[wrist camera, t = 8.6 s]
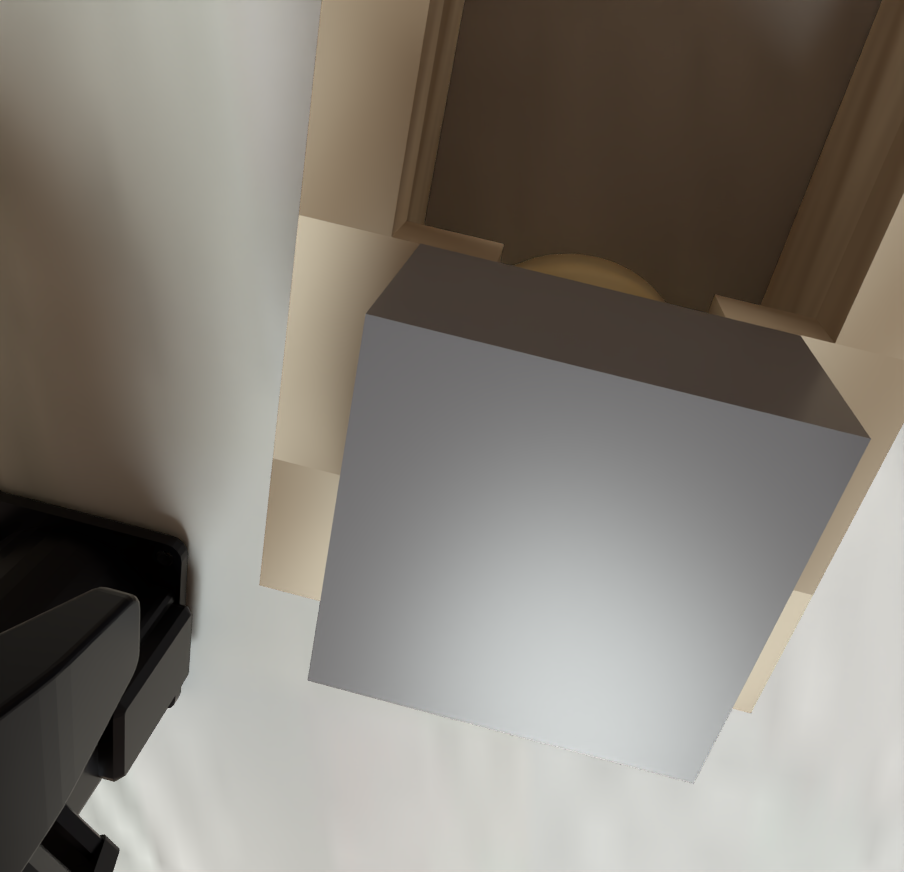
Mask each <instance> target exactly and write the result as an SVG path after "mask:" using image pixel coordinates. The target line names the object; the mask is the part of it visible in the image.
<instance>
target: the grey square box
mask: <svg viewBox="0 0 904 872" xmlns="http://www.w3.org/2000/svg"><path fill="white" fill-rule="evenodd" d="M870 440H871V438H870V437H869V435H868V434H867V432H866V431H865V429H864V428H863V426H862V425H861V423H860V422H859V420H858V419H857V417H856V416H855V415H854V413H853V412H852V410H851V409H850V407H849V406H848V404H847V403H846V401H845V400H844V398H843V397H842V396H841V394H840V393H839V391H838V390H837V388H836V387H835V385H834V384H833V382H832V381H831V379H830V378H829V377H828V375H827V374H826V372H825V371H824V369H823V368H822V366H821V365H820V363H819V362H818V360H817V359H816V357H815V356H814V355H813V353H812V352H811V350H810V349H809V347H808V346H807V344H806V343H805V341H804V340H803V338H802V337H801V336H800V335H796V334H792V333H787V332H783V331H779V330H775V329H771V328H767V327H763V326H759V325H755V324H750V323H746V322H742V321H738V320H734V319H730V318H726V317H722V316H718V315H713V314H709V313H705V312H701V311H697V310H693V309H689V308H685V307H681V306H676V305H672V304H668V303H666V302H665V300H664V299H663V298H662V297H661V296H660V294H659V293H658V292H657V291H656V290H655V289H654V288H653V287H652V286H651V285H650V284H649V283H647V282H646V281H645V280H644V279H643V278H642V277H640V276H639V275H637V274H636V273H634V272H632V271H631V270H629V269H628V268H626V267H623V266H621V265H619V264H617V263H615V262H612V261H609V260H606V259H603V258H600V257H596V256H590V255H584V254H570V253H562V254H551V255H545V256H540V257H536V258H532V259H529V260H526V261H523V262H520V263H518V264H516V265H514V266H512V265H508V264H504V263H499V262H495V261H491V260H487V259H483V258H479V257H475V256H471V255H467V254H462V253H458V252H454V251H450V250H446V249H442V248H438V247H434V246H430V245H425V244H421V243H420V245H419V246H418V247H417V249H416V250H415V251H414V252H413V254H412V255H411V256H410V258H409V259H408V260H407V261H406V263H405V264H404V265H403V266H402V268H401V269H400V270H399V272H398V273H397V274H396V275H395V277H394V278H393V279H392V281H391V282H390V283H389V284H388V286H387V287H386V288H385V290H384V291H383V292H382V293H381V295H380V296H379V297H378V299H377V300H376V301H375V302H374V304H373V305H372V306H371V307H370V309H369V310H368V311H367V313H366V314H365V321H364V327H363V333H362V340H361V346H360V352H359V359H358V365H357V371H356V378H355V384H354V390H353V397H352V403H351V409H350V416H349V422H348V428H347V434H346V441H345V447H344V453H343V460H342V466H341V472H340V479H339V485H338V491H337V498H336V504H335V510H334V517H333V523H332V529H331V536H330V542H329V548H328V555H327V561H326V567H325V574H324V580H323V586H322V593H321V599H320V605H319V612H318V618H317V624H316V631H315V637H314V643H313V650H312V656H311V662H310V669H309V675H308V681H312V682H315V683H319V684H323V685H326V686H330V687H334V688H338V689H341V690H345V691H349V692H353V693H356V694H360V695H364V696H368V697H371V698H375V699H379V700H383V701H386V702H390V703H394V704H397V705H401V706H405V707H409V708H412V709H416V710H420V711H424V712H427V713H431V714H435V715H439V716H442V717H446V718H450V719H454V720H457V721H461V722H465V723H468V724H472V725H476V726H480V727H483V728H487V729H491V730H495V731H498V732H502V733H506V734H510V735H513V736H517V737H521V738H525V739H528V740H532V741H536V742H540V743H543V744H547V745H551V746H554V747H558V748H562V749H566V750H569V751H573V752H577V753H581V754H584V755H588V756H592V757H596V758H599V759H603V760H607V761H611V762H614V763H618V764H622V765H625V766H629V767H633V768H637V769H640V770H644V771H648V772H652V773H655V774H659V775H663V776H667V777H670V778H674V779H678V780H682V781H685V782H689V783H693V784H694V782H695V780H696V778H697V777H698V775H699V773H700V771H701V769H702V767H703V765H704V763H705V761H706V759H707V757H708V755H709V753H710V751H711V749H712V747H713V745H714V743H715V741H716V740H717V738H718V736H719V734H720V732H721V730H722V728H723V726H724V724H725V722H726V720H727V718H728V716H729V714H730V712H731V710H732V708H733V706H734V705H735V703H736V701H737V699H738V697H739V695H740V693H741V691H742V689H743V687H744V685H745V683H746V681H747V679H748V677H749V675H750V673H751V671H752V670H753V668H754V666H755V664H756V662H757V660H758V658H759V656H760V654H761V652H762V650H763V648H764V646H765V644H766V642H767V640H768V638H769V636H770V635H771V633H772V631H773V629H774V627H775V625H776V623H777V621H778V619H779V617H780V615H781V613H782V611H783V609H784V607H785V605H786V603H787V601H788V600H789V598H790V596H791V594H792V592H793V590H794V588H795V586H796V584H797V582H798V580H799V578H800V576H801V574H802V572H803V570H804V568H805V566H806V565H807V563H808V561H809V559H810V557H811V555H812V553H813V551H814V549H815V547H816V545H817V543H818V541H819V539H820V537H821V535H822V533H823V531H824V530H825V528H826V526H827V524H828V522H829V520H830V518H831V516H832V514H833V512H834V510H835V508H836V506H837V504H838V502H839V500H840V498H841V496H842V495H843V493H844V491H845V489H846V487H847V485H848V483H849V481H850V479H851V477H852V475H853V473H854V471H855V469H856V467H857V465H858V463H859V461H860V459H861V458H862V456H863V454H864V452H865V450H866V448H867V446H868V444H869V442H870Z"/></svg>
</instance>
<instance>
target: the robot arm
mask: <svg viewBox="0 0 904 872" xmlns="http://www.w3.org/2000/svg"><path fill="white" fill-rule="evenodd" d="M164 551H167V552H169V553H170V554H171V555H172V556H173V557H170V556H168V555H166V554H165V553H164ZM187 564H188V552H187V548H186V546H185V545H184V543H183V542H182V541H180V540H179V539H178V538H176V537H173V536H170V535H166V534H163V533H159V532H155V531H151V530H147V529H143V528H139V527H136V526H132V525H128V524H124V523H120V522H116V521H112V520H109V519H105V518H101V517H97V516H93V515H89V514H85V513H82V512H78V511H74V510H70V509H66V508H62V507H58V506H55V505H51V504H47V503H43V502H39V501H35V500H31V499H28V498H24V497H20V496H16V495H12V494H8V493H4V492H1V491H0V872H113V870H114V867H115V864H116V860H117V857H118V854H119V848H118V847H117V846H116V845H115V844H114V843H113V842H112V841H111V840H110V839H109V838H108V837H107V836H106V835H105V834H104V835H99V834H98V833H97V832H96V831H94V830H93V829H92V828H91V827H90V826H89V825H88V824H87V823H86V822H85V821H84V820H83V819H82V818H81V817H80V816H79V813H80V812H81V810H82V809H83V807H84V806H85V804H86V803H87V801H88V799H89V798H90V796H91V795H92V793H93V792H94V790H95V789H96V787H97V786H98V784H99V782H100V781H101V779H102V778H103V779H106V780H110V781H113V782H114V781H117V780H119V779H120V778H122V777H124V776H125V775H126V774H127V773H128V771H129V769H130V768H131V766H132V764H133V763H134V761H135V760H136V758H137V756H138V755H139V753H140V752H141V750H142V748H143V747H144V745H145V744H146V742H147V740H148V739H149V737H150V735H151V734H152V732H153V731H154V729H155V727H156V726H157V724H158V723H159V721H160V719H161V718H162V716H163V714H164V713H165V711H166V710H167V708H171V707H172V706H173V705H174V704H175V702H176V701H177V699H178V697H179V696H180V693H181V685H182V684H183V682H184V681H185V679H186V677H187V676H188V673H189V662H190V645H191V627H192V614H191V612H190V609H189V607H188V606H185V602H186V583H187Z"/></svg>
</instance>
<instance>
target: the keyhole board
mask: <svg viewBox="0 0 904 872" xmlns="http://www.w3.org/2000/svg"><path fill="white" fill-rule="evenodd" d="M464 1H465V0H322V2H321V12H320V21H319V31H318V40H317V49H316V59H315V68H314V78H313V87H312V96H311V106H310V115H309V124H308V134H307V143H306V153H305V162H304V171H303V181H302V190H301V200H300V209H299V218H298V228H297V237H296V246H295V256H294V265H293V275H292V284H291V293H290V303H289V312H288V322H287V331H286V340H285V350H284V359H283V368H282V378H281V387H280V397H279V406H278V415H277V425H276V434H275V443H274V453H273V462H272V472H271V481H270V490H269V500H268V509H267V519H266V528H265V537H264V547H263V556H262V565H261V575H260V584H259V585H261V586H264V587H268V588H272V589H276V590H280V591H284V592H288V593H291V594H295V595H299V596H303V597H307V598H311V599H314V600H318V601H320V599H321V593H322V586H323V580H324V574H325V567H326V561H327V555H328V548H329V542H330V536H331V529H332V523H333V517H334V510H335V504H336V498H337V491H338V485H339V479H340V472H341V466H342V460H343V453H344V447H345V441H346V434H347V428H348V422H349V416H350V409H351V403H352V397H353V390H354V384H355V378H356V371H357V365H358V359H359V352H360V346H361V340H362V333H363V327H364V321H365V314H366V313H367V311H368V310H369V309H370V307H371V306H372V305H373V304H374V302H375V301H376V300H377V299H378V297H379V296H380V295H381V293H382V292H383V291H384V290H385V288H386V287H387V286H388V284H389V283H390V282H391V281H392V279H393V278H394V277H395V275H396V274H397V273H398V272H399V270H400V269H401V268H402V266H403V265H404V264H405V263H406V261H407V260H408V259H409V258H410V256H411V255H412V254H413V252H414V251H415V250H416V249H417V247H418V246H419V245H420V243H421V244H425V245H430V246H434V247H438V248H442V249H446V250H450V251H454V252H458V253H462V254H467V255H471V256H475V257H479V258H483V259H487V260H491V261H495V262H499V263H500V261H501V256H502V252H503V248H504V244H502V243H498V242H493V241H489V240H485V239H481V238H477V237H472V236H468V235H464V234H460V233H456V232H452V231H447V230H443V229H439V228H435V227H431V226H426V225H424V222H425V216H426V211H427V205H428V200H429V194H430V189H431V183H432V178H433V172H434V167H435V161H436V156H437V150H438V145H439V139H440V134H441V128H442V123H443V117H444V112H445V106H446V101H447V95H448V90H449V84H450V79H451V73H452V67H453V62H454V56H455V51H456V45H457V40H458V34H459V29H460V23H461V18H462V12H463V7H464ZM708 313H709V314H713V315H718V316H722V317H726V318H730V319H734V320H738V321H742V322H746V323H750V324H755V325H759V326H763V327H767V328H771V329H775V330H779V331H783V332H787V333H792V334H796V335H800V336H801V337H802V338H803V340H804V341H805V343H806V344H807V346H808V347H809V349H810V350H811V352H812V353H813V355H814V356H815V357H816V359H817V360H818V362H819V363H820V365H821V366H822V368H823V369H824V371H825V372H826V374H827V375H828V377H829V378H830V379H831V381H832V382H833V384H834V385H835V387H836V388H837V390H838V391H839V393H840V394H841V396H842V397H843V398H844V400H845V401H846V403H847V404H848V406H849V407H850V409H851V410H852V412H853V413H854V415H855V416H856V417H857V419H858V420H859V422H860V423H861V425H862V426H863V428H864V429H865V431H866V432H867V434H868V435H869V437H870V438H871V440H870V442H869V444H868V446H867V448H866V450H865V452H864V454H863V456H862V458H861V459H860V461H859V463H858V465H857V467H856V469H855V471H854V473H853V475H852V477H851V479H850V481H849V483H848V485H847V487H846V489H845V491H844V493H843V495H842V496H841V498H840V500H839V502H838V504H837V506H836V508H835V510H834V512H833V514H832V516H831V518H830V520H829V522H828V524H827V526H826V528H825V530H824V531H823V533H822V535H821V537H820V539H819V541H818V543H817V545H816V547H815V549H814V551H813V553H812V555H811V557H810V559H809V561H808V563H807V565H806V566H805V568H804V570H803V572H802V574H801V576H800V578H799V580H798V582H797V584H796V586H795V588H794V590H793V592H792V594H791V596H790V598H789V600H788V601H787V603H786V605H785V607H784V609H783V611H782V613H781V615H780V617H779V619H778V621H777V623H776V625H775V627H774V629H773V631H772V633H771V635H770V636H769V638H768V640H767V642H766V644H765V646H764V648H763V650H762V652H761V654H760V656H759V658H758V660H757V662H756V664H755V666H754V668H753V670H752V671H751V673H750V675H749V677H748V679H747V681H746V683H745V685H744V687H743V689H742V691H741V693H740V695H739V697H738V699H737V701H736V703H735V705H734V706H733V709H736V710H740V711H744V712H748V713H751V712H752V710H753V708H754V706H755V704H756V702H757V700H758V698H759V697H760V695H761V693H762V691H763V689H764V687H765V685H766V683H767V681H768V679H769V678H770V676H771V674H772V672H773V670H774V668H775V666H776V664H777V662H778V660H779V659H780V657H781V655H782V653H783V651H784V649H785V647H786V645H787V643H788V641H789V640H790V638H791V636H792V634H793V632H794V630H795V628H796V626H797V624H798V622H799V621H800V619H801V617H802V615H803V613H804V611H805V609H806V607H807V605H808V603H809V602H810V600H811V598H812V596H813V594H814V592H815V590H816V588H817V586H818V584H819V583H820V581H821V579H822V577H823V575H824V573H825V571H826V569H827V567H828V565H829V564H830V562H831V560H832V558H833V556H834V554H835V552H836V550H837V548H838V546H839V545H840V543H841V541H842V539H843V537H844V535H845V533H846V531H847V529H848V527H849V526H850V524H851V522H852V520H853V518H854V516H855V514H856V512H857V510H858V508H859V507H860V505H861V503H862V501H863V499H864V497H865V495H866V493H867V491H868V489H869V488H870V486H871V484H872V482H873V480H874V478H875V476H876V474H877V472H878V470H879V469H880V467H881V465H882V463H883V461H884V459H885V457H886V455H887V453H888V451H889V450H890V448H891V446H892V444H893V442H894V440H895V438H896V436H897V434H898V433H899V431H900V429H901V427H902V425H903V423H904V0H882V2H881V4H880V7H879V9H878V12H877V14H876V17H875V19H874V22H873V24H872V27H871V29H870V32H869V34H868V37H867V39H866V42H865V44H864V47H863V49H862V52H861V54H860V57H859V59H858V62H857V64H856V67H855V69H854V72H853V74H852V77H851V80H850V82H849V85H848V87H847V90H846V92H845V95H844V97H843V100H842V102H841V105H840V107H839V110H838V112H837V115H836V117H835V120H834V122H833V125H832V127H831V130H830V132H829V135H828V137H827V140H826V142H825V145H824V147H823V150H822V152H821V155H820V157H819V160H818V162H817V165H816V167H815V170H814V172H813V175H812V177H811V180H810V182H809V185H808V187H807V190H806V192H805V195H804V197H803V200H802V202H801V205H800V207H799V210H798V212H797V215H796V217H795V220H794V222H793V225H792V227H791V230H790V232H789V235H788V237H787V240H786V242H785V245H784V247H783V250H782V252H781V255H780V257H779V260H778V262H777V265H776V267H775V270H774V272H773V275H772V277H771V280H770V282H769V285H768V287H767V290H766V292H765V295H764V297H763V300H762V302H761V305H757V304H753V303H749V302H745V301H741V300H736V299H732V298H728V297H724V296H720V295H714V297H713V300H712V303H711V306H710V308H709V311H708Z"/></svg>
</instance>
